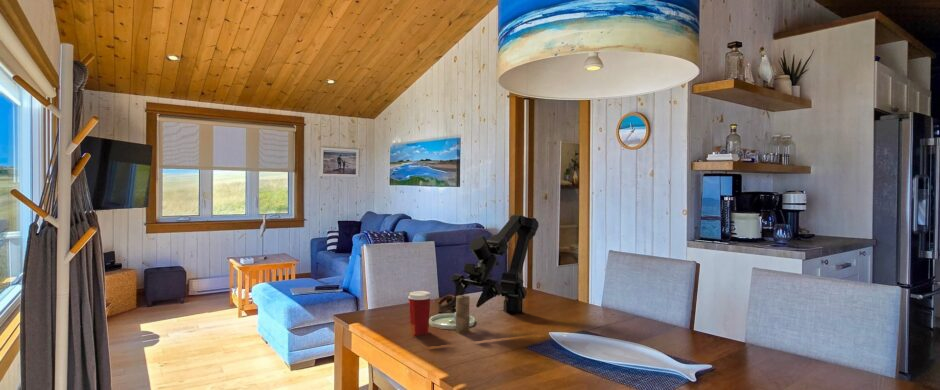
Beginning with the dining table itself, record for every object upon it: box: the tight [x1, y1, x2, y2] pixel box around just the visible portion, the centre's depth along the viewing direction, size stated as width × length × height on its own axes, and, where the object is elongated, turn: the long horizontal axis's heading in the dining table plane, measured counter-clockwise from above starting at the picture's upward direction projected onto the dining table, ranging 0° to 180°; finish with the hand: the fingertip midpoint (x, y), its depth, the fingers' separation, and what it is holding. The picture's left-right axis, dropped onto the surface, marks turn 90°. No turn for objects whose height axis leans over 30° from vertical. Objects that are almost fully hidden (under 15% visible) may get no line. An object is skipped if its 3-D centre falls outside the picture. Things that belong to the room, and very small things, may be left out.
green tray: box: [429, 312, 476, 330], centre depth 178 cm, size 16×16×2 cm
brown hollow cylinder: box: [437, 294, 456, 313], centre depth 194 cm, size 12×10×8 cm
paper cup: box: [407, 290, 432, 338], centre depth 166 cm, size 8×8×14 cm
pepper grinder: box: [455, 294, 470, 334], centre depth 168 cm, size 4×4×13 cm
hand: (465, 304), depth 169 cm, fingers open, 9 cm apart
